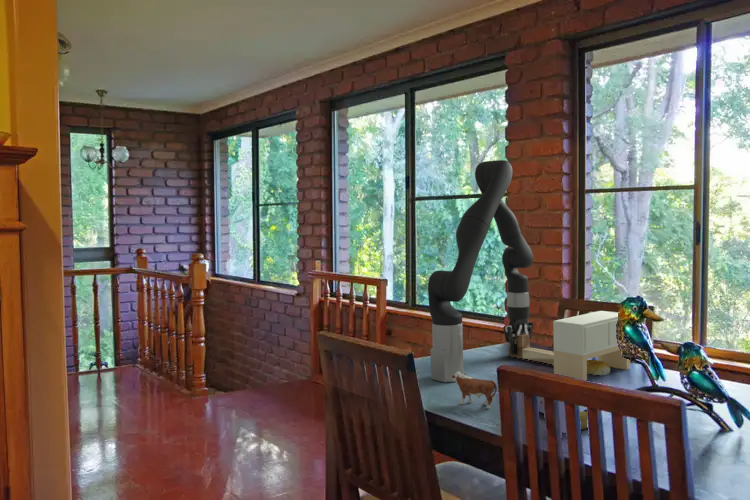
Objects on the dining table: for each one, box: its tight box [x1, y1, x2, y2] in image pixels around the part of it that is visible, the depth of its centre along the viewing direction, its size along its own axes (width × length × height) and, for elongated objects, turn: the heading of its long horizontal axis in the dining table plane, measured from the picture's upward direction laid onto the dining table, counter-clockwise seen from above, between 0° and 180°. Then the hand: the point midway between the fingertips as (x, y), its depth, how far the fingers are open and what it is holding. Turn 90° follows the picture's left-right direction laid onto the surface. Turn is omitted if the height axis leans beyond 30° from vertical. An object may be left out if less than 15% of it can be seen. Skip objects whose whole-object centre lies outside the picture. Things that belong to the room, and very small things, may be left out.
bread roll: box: [587, 359, 611, 376], centre depth 194 cm, size 8×9×4 cm
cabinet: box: [552, 310, 631, 381], centre depth 192 cm, size 26×10×18 cm, turn 129°
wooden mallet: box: [508, 333, 554, 366], centre depth 210 cm, size 4×24×8 cm, turn 38°
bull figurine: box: [452, 371, 498, 410], centre depth 164 cm, size 4×13×8 cm, turn 51°
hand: (519, 352), depth 217 cm, fingers open, 5 cm apart
